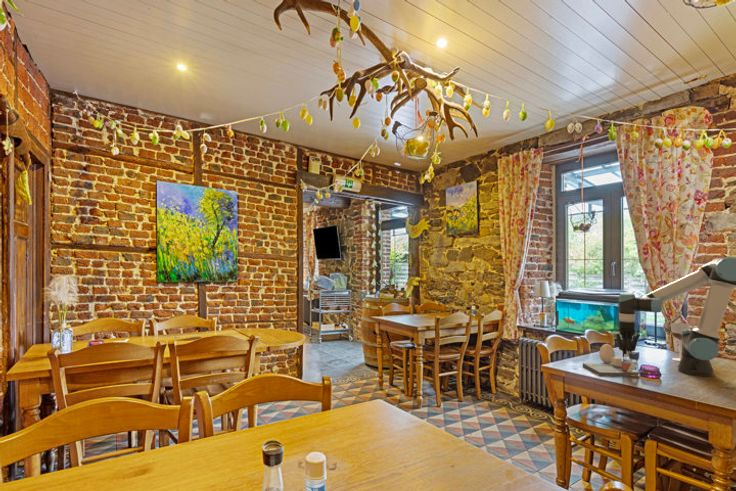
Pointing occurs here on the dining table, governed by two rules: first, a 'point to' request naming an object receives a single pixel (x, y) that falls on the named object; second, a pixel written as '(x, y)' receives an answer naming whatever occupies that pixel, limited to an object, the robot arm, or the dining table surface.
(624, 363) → the fader
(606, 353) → the egg
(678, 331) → the wineglass
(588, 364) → the beige flat board
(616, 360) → the fader
